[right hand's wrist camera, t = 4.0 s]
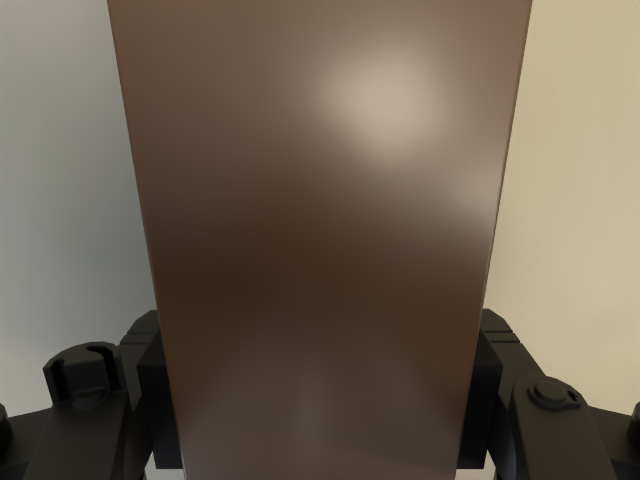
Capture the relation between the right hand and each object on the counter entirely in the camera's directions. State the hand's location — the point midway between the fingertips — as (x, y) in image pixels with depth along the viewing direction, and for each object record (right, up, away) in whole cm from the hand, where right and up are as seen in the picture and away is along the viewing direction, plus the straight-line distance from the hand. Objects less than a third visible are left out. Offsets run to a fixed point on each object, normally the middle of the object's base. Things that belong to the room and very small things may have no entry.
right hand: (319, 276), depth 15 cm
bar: (0, +27, -10) cm, 29 cm away
